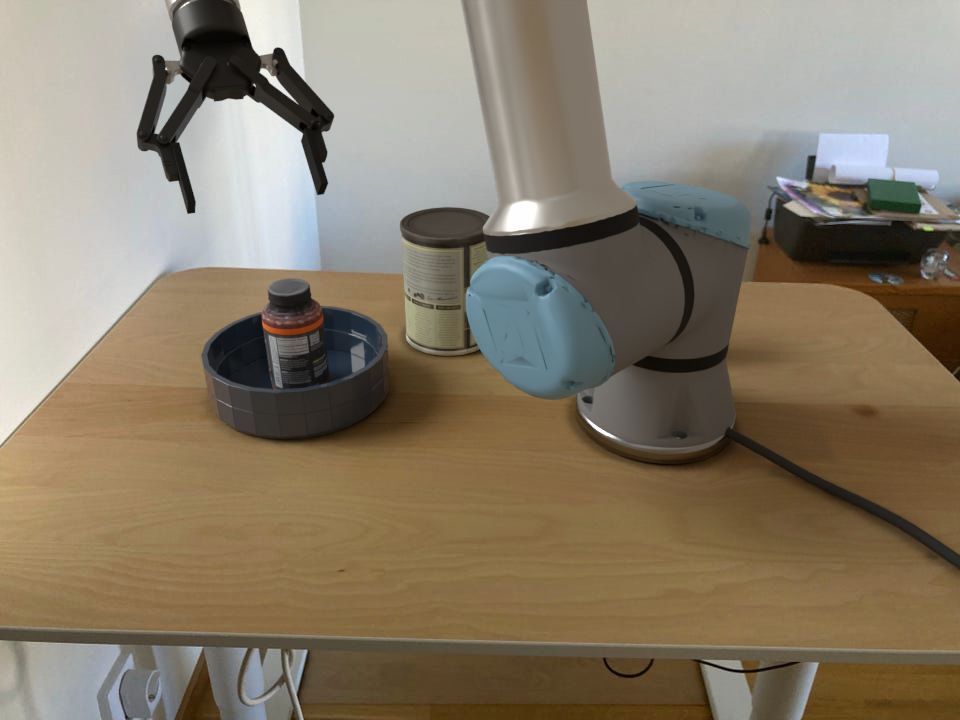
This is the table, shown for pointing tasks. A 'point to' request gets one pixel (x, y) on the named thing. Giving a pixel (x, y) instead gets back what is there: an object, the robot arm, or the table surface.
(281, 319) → the supplement bottle
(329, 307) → the bowl
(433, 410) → the table surface
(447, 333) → the coffee can
